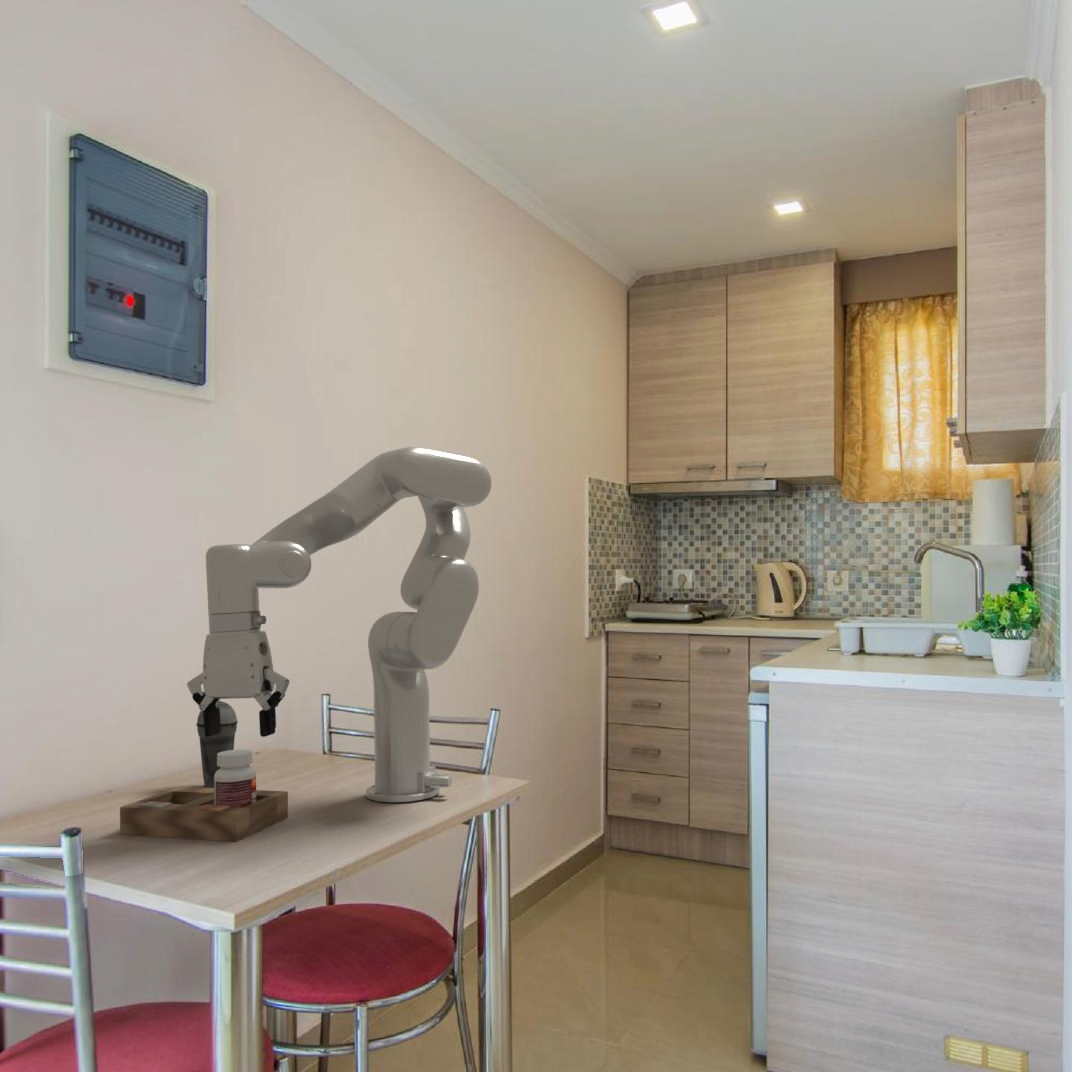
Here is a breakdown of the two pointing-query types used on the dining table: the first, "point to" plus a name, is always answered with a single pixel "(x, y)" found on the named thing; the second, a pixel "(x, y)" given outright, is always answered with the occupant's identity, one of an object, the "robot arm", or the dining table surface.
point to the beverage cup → (216, 741)
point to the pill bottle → (235, 779)
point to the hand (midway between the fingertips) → (240, 735)
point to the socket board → (201, 815)
